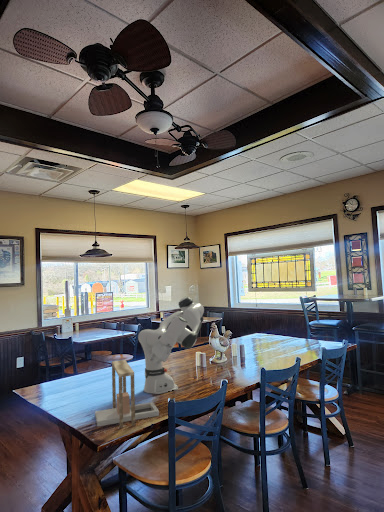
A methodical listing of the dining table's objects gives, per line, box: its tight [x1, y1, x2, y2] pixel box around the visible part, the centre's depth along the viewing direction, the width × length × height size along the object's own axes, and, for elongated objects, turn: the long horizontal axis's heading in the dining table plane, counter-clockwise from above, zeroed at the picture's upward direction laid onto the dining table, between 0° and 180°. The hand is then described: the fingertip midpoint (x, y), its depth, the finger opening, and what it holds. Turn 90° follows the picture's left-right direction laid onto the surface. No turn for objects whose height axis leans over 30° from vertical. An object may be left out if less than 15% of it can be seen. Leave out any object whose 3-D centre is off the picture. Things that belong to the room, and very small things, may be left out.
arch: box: [111, 359, 136, 429], centre depth 185 cm, size 8×28×26 cm, turn 20°
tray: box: [94, 401, 160, 427], centre depth 185 cm, size 32×14×2 cm, turn 110°
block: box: [116, 391, 131, 415], centre depth 185 cm, size 6×6×9 cm
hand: (152, 363), depth 192 cm, fingers open, 8 cm apart
